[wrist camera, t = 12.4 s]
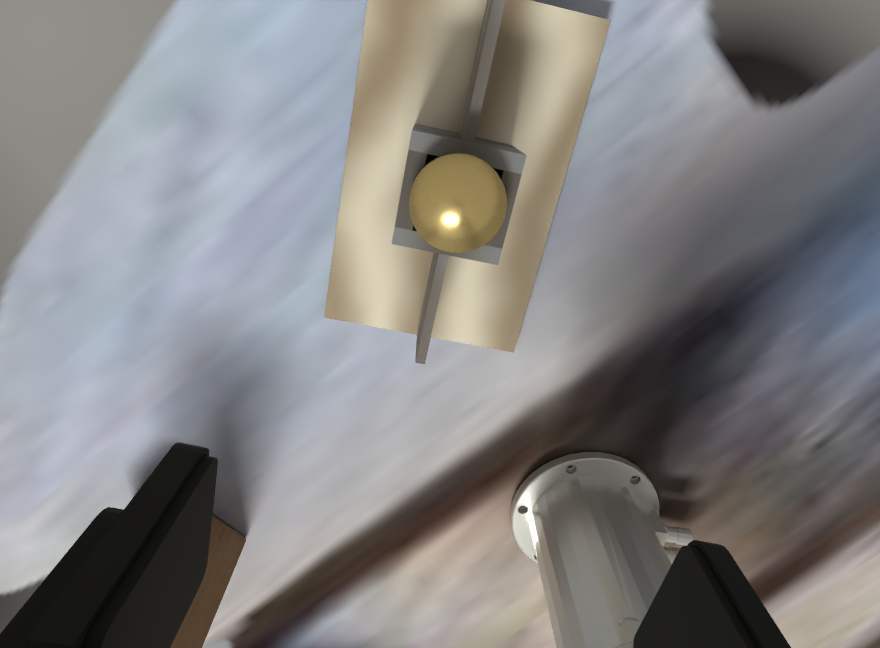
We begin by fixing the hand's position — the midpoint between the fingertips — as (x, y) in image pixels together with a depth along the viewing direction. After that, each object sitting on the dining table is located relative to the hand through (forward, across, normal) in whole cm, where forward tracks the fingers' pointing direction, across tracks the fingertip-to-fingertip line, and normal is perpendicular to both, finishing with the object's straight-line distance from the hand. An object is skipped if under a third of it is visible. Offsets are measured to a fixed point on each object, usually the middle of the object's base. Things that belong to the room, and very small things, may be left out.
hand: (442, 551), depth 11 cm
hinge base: (+29, 0, -3) cm, 29 cm away
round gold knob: (+27, 0, -3) cm, 27 cm away
